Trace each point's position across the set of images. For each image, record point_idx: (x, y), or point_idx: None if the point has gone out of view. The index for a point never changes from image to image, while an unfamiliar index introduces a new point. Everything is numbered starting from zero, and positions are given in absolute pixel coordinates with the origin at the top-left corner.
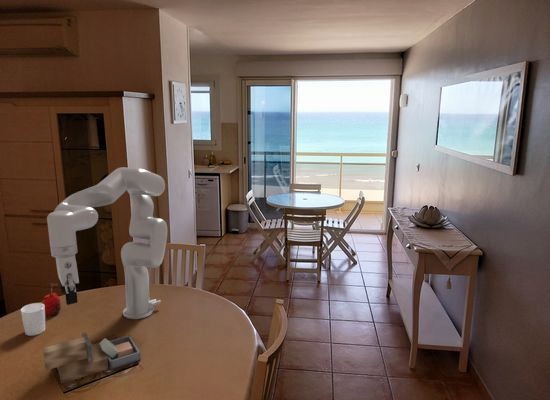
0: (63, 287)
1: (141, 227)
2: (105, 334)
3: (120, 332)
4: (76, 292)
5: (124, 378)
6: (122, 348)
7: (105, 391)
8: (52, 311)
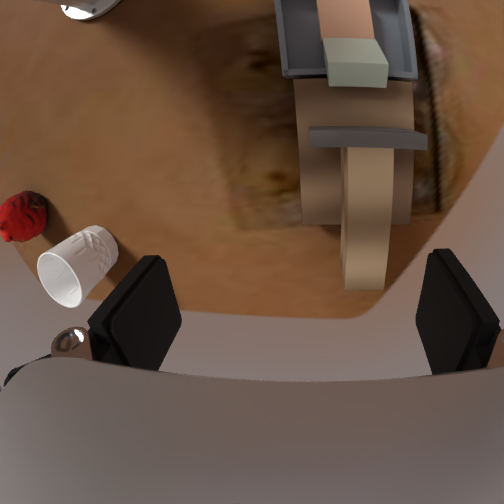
0: (159, 344)
1: None
2: (182, 60)
3: (192, 16)
4: (492, 311)
5: (463, 66)
6: (355, 21)
7: (487, 126)
8: (39, 211)
